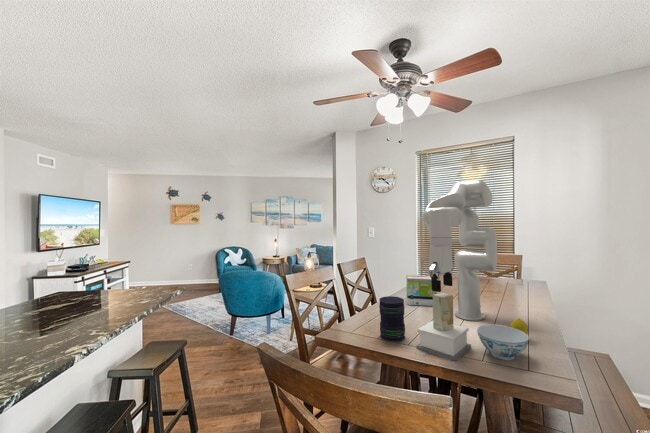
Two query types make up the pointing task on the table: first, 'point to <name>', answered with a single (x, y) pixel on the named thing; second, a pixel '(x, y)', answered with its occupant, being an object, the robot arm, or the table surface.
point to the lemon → (519, 325)
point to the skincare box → (443, 311)
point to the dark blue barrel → (392, 319)
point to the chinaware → (503, 340)
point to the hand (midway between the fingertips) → (442, 288)
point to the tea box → (419, 290)
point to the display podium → (444, 341)
